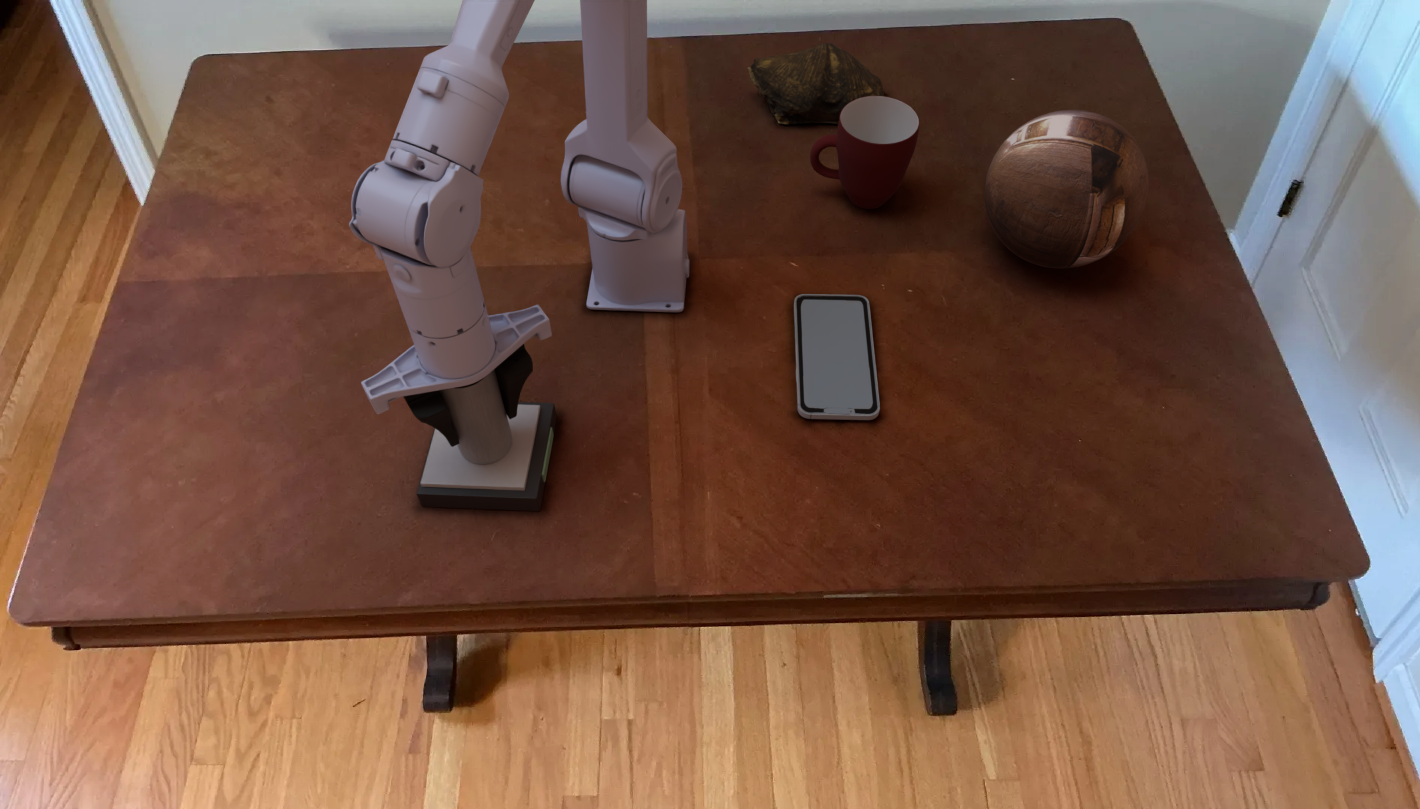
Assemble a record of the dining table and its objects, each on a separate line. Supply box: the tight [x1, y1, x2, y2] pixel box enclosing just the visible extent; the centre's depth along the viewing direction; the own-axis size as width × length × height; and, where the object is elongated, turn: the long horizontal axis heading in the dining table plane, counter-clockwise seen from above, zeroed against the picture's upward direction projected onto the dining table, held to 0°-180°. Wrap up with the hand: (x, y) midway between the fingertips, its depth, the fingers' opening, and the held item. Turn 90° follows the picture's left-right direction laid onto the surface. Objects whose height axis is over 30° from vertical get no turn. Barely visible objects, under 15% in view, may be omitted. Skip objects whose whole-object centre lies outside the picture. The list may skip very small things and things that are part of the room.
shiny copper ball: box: [983, 109, 1150, 269], centre depth 97 cm, size 15×15×15 cm
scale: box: [416, 401, 558, 512], centre depth 85 cm, size 10×10×2 cm
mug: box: [809, 95, 921, 210], centre depth 104 cm, size 11×8×10 cm
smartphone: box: [793, 293, 881, 421], centre depth 93 cm, size 7×1×15 cm
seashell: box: [746, 42, 885, 125], centre depth 115 cm, size 16×9×7 cm, turn 91°
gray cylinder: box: [439, 370, 512, 465], centre depth 80 cm, size 4×4×10 cm
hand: (479, 423), depth 82 cm, fingers closed on gray cylinder, 4 cm apart
